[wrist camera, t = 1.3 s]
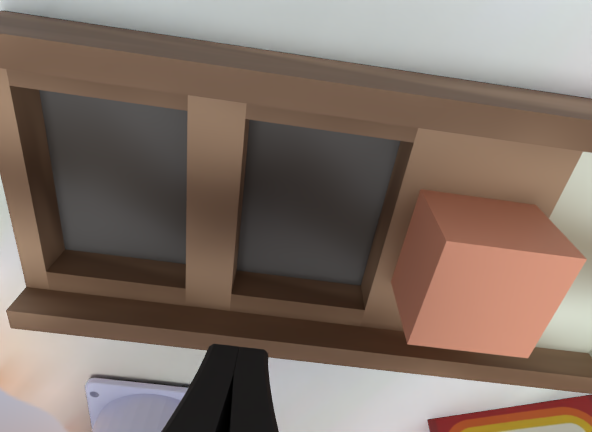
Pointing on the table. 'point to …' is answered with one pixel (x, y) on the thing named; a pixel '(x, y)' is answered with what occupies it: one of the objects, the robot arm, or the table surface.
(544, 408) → the baking soda box
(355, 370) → the table surface
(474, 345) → the block
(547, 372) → the wooden frame
